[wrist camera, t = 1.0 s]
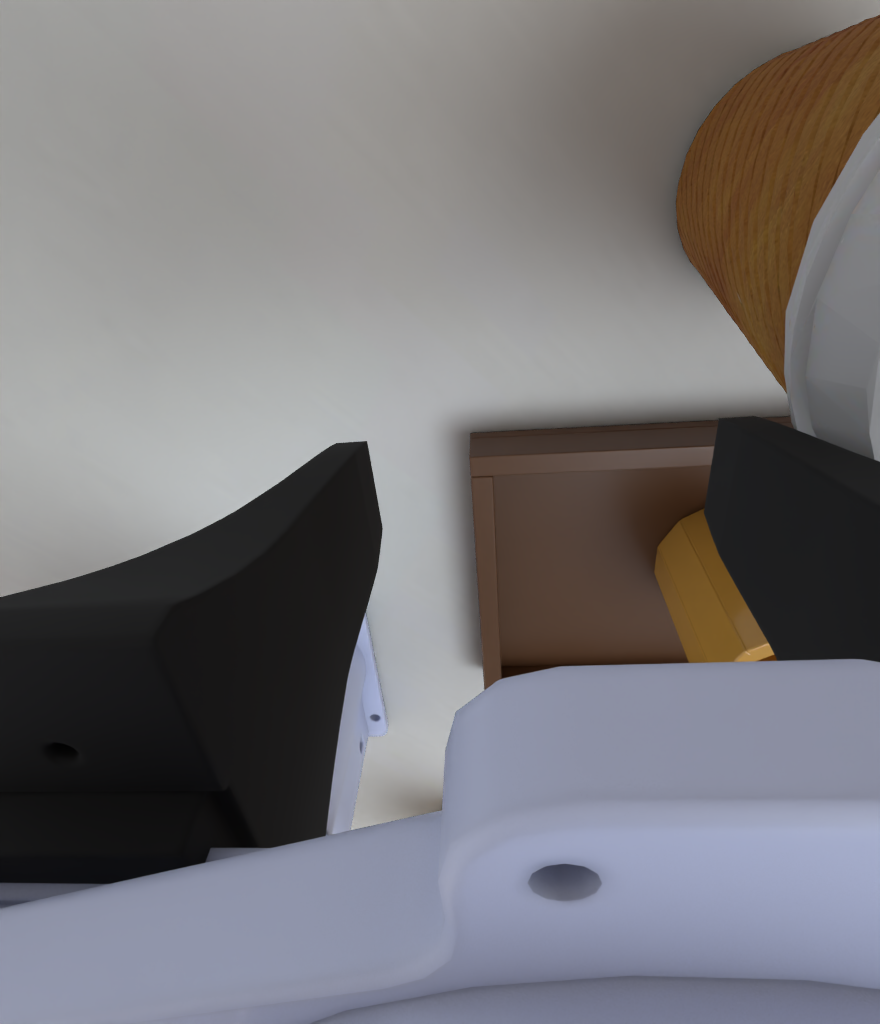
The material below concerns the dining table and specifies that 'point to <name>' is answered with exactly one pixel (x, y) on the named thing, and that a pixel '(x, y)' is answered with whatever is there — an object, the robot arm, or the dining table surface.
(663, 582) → the cup
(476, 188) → the dining table surface
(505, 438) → the tray
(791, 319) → the disposable coffee cup
